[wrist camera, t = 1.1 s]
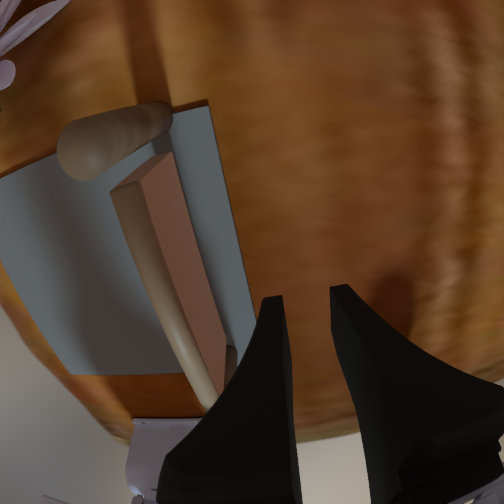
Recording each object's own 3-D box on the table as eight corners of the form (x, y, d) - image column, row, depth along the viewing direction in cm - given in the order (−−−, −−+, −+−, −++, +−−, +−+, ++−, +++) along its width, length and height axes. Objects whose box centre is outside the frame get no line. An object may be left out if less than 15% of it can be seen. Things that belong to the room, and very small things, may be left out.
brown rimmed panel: (226, 339, 23) (222, 413, 17) (211, 341, 23) (203, 414, 18) (171, 151, 16) (132, 188, 11) (151, 156, 17) (104, 195, 11)
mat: (71, 372, 27) (70, 374, 27) (-25, 192, 17) (-27, 193, 17) (266, 361, 26) (266, 364, 25) (208, 105, 16) (208, 105, 16)
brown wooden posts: (216, 359, 25) (208, 455, 18) (137, 106, 16) (50, 131, 8) (240, 357, 25) (238, 454, 17) (170, 97, 16) (100, 109, 8)
